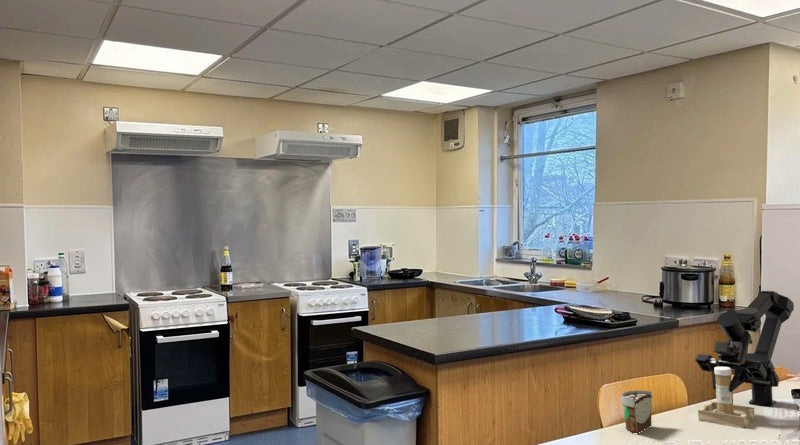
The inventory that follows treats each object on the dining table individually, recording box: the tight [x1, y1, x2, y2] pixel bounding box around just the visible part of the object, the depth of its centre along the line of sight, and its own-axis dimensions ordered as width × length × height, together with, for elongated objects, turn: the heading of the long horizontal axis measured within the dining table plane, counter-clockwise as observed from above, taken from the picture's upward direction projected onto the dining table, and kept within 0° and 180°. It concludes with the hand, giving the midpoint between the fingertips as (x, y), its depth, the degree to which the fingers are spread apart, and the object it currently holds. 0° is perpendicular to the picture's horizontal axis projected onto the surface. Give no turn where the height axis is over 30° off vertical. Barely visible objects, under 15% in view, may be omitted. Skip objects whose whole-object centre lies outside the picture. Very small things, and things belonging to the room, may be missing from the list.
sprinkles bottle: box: [714, 367, 734, 415], centre depth 181 cm, size 5×5×13 cm
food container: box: [620, 390, 653, 435], centre depth 176 cm, size 12×6×10 cm, turn 135°
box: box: [697, 401, 755, 429], centre depth 181 cm, size 12×12×3 cm
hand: (722, 389), depth 180 cm, fingers closed on sprinkles bottle, 4 cm apart
